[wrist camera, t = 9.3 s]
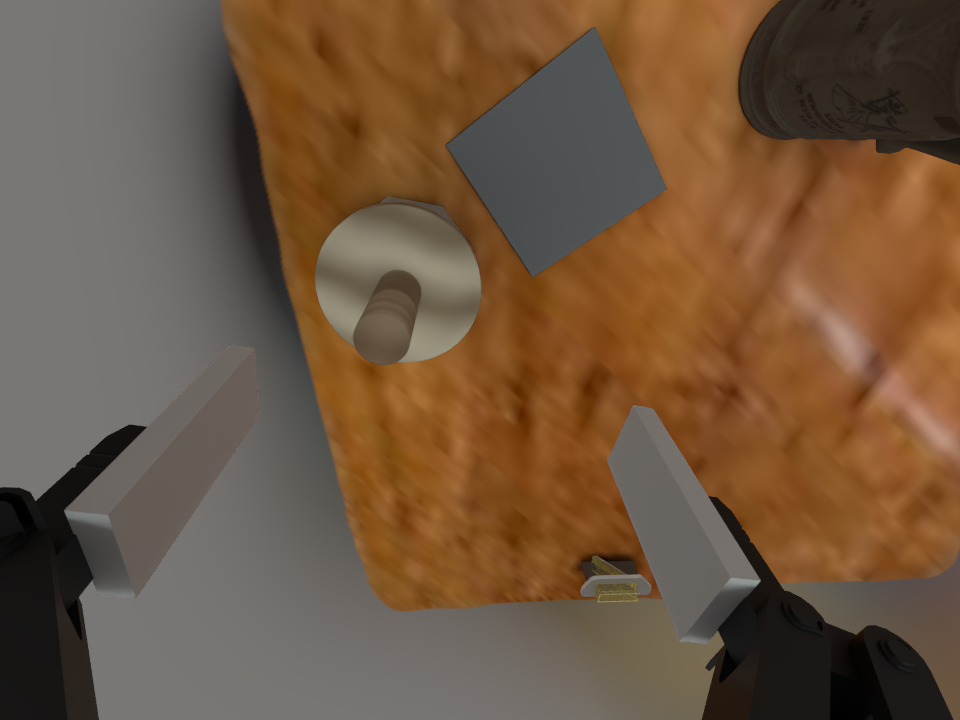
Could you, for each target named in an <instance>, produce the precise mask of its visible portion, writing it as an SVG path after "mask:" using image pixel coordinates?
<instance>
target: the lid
mask: <svg viewBox="0 0 960 720" xmlns="http://www.w3.org/2000/svg"><path fill="white" fill-rule="evenodd" d="M315 284H316V292H317V296H318V300H319V303H320V306H321V308H322V310H323V312H324V314H325V316H326V318H327V320H328V321H329V323H330V324H331V326H332V327H333V328H334V329H335V331H336V332H337V333H338V334H339V335H340V336H341V337H342V338H343V339H344V340H345V341H347V342H348V343H349V344H351V345H352V346H353V347H355V348H356V350H357V351H358V353H359V354H360V355H361V356H362V357H363V358H365V359H366V360H368V361H370V362H372V363H375V364H380V365H388V364H393V363H395V362H402V363H404V362H417V361H423V360H427V359H431V358H433V357H436V356H438V355H441V354H442V353H444V352H446V351H448V350H449V349H451V348H452V347H453V346H455V345H456V344H457V343H458V342H459V341H460V340H461V339H462V338H463V337H464V336H465V335H466V333H467V332H468V331H469V329H470V328H471V326H472V324H473V323H474V321H475V318H476V316H477V313H478V310H479V306H480V300H481V279H480V272H479V267H478V263H477V260H476V257H475V255H474V252H473V250H472V248H471V246H470V245H469V243H468V241H467V240H466V238H465V237H464V236H463V235H462V233H461V232H460V231H459V230H458V229H457V228H456V227H455V226H454V225H453V224H452V223H451V222H449V221H448V220H447V219H445V218H444V217H443V216H441V215H439V214H438V213H436V212H434V211H432V210H430V209H427V208H425V207H422V206H419V205H415V204H411V203H404V202H385V203H379V204H374V205H371V206H368V207H365V208H363V209H361V210H359V211H357V212H355V213H353V214H352V215H350V216H349V217H347V218H346V219H345V220H344V221H343V222H342V223H340V224H339V225H338V226H337V227H336V228H335V229H334V230H333V231H332V233H331V234H330V235H329V236H328V238H327V239H326V241H325V243H324V244H323V246H322V248H321V251H320V253H319V256H318V260H317V264H316V272H315Z"/></svg>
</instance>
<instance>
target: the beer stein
mask: <svg viewBox="0 0 960 720" xmlns="http://www.w3.org/2000/svg"><path fill="white" fill-rule="evenodd" d="M739 87H740V100H741V104H742V107H743V110H744V113H745V115H746V116H747V118H748V120H749V121H750V123H751V125H752V126H753V127H754V128H756V129H757V130H758V131H760V132H761V133H762V134H764V135H766V136H769V137H771V138H776V139H783V140H788V139H796V138H803V139H846V140H867V139H876V151H877V152H878V153H887V154H891V153H894V152H898V151H901V150H902V149H904V148H906V147H907V148H910V149H914V150H917V151H920V152H923V153H926V154H929V155H932V156H935V157H938V158H940V159H943V160H946V161H949V162H952V163H955V164H958V165H960V0H782V1H781V2H780V3H779V4H777V5H776V6H775V7H774V8H773V9H772V10H771V11H770V13H769V14H768V15H767V17H766V18H765V19H764V21H763V22H762V23H761V25H760V27H759V28H758V30H757V32H756V34H755V35H754V37H753V39H752V41H751V43H750V46H749V48H748V51H747V53H746V56H745V58H744V61H743V65H742V70H741V75H740V84H739Z"/></svg>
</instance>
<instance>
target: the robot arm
mask: <svg viewBox="0 0 960 720" xmlns="http://www.w3.org/2000/svg"><path fill="white" fill-rule="evenodd" d="M258 416H259V403H258V389H257V374H256V360H255V348H249V347H243V346H236V345H229V346H228V347H227V348H226V349H225V350H224V351H223V352H222V353H221V354H220V355H219V356H218V357H217V358H216V359H215V360H214V361H213V362H212V363H211V364H210V365H209V366H208V367H207V368H206V369H205V370H204V371H203V372H202V373H201V374H200V375H199V376H198V377H197V378H196V379H195V380H194V381H193V382H192V383H191V384H190V385H189V386H188V387H187V388H186V389H185V390H184V391H183V392H182V393H181V394H180V395H179V396H178V397H177V398H176V399H175V400H174V401H173V402H172V403H171V404H170V405H169V406H168V407H167V408H166V409H165V410H164V411H163V412H162V413H161V414H160V415H159V416H158V417H157V418H156V419H155V420H154V421H153V422H152V423H151V424H150V425H149V426H148V427H144V426H136V425H128V426H126V427H124V428H122V429H120V430H118V431H116V432H114V433H112V434H110V435H108V436H107V437H105V438H104V439H103V440H102V441H101V442H100V443H99V444H98V445H97V446H96V447H94V448H93V449H92V450H91V451H90V454H89V455H86V456H85V457H84V458H82V459H81V460H80V461H79V462H78V463H77V464H76V467H75V468H71V469H70V470H69V471H68V472H67V473H66V474H65V475H64V476H63V477H62V478H61V479H60V480H58V481H57V482H56V483H55V484H54V485H53V486H52V487H51V488H50V489H48V490H47V491H46V492H45V493H44V494H43V495H42V496H41V497H40V498H39V499H38V500H37V501H35V500H34V498H33V496H32V494H31V493H30V492H29V491H26V490H24V489H21V488H7V487H2V488H0V720H99V718H98V711H97V704H96V697H95V691H94V685H93V677H92V670H91V663H90V657H89V650H88V643H87V637H86V630H85V623H84V617H83V609H82V604H81V602H80V599H79V596H80V595H81V593H82V592H83V591H84V590H85V588H86V587H87V586H88V585H89V583H90V582H91V581H92V580H93V582H94V585H95V587H96V590H97V592H98V595H101V596H113V597H127V598H137V596H138V595H139V593H140V592H141V590H142V589H143V587H144V586H145V584H146V583H147V581H148V580H149V579H150V577H151V576H152V574H153V572H154V571H155V570H156V568H157V567H158V565H159V564H160V562H161V561H162V559H163V558H164V556H165V555H166V553H167V552H168V550H169V549H170V547H171V546H172V544H173V543H174V541H175V540H176V538H177V537H178V535H179V534H180V532H181V531H182V529H183V528H184V526H185V525H186V523H187V522H188V521H189V519H190V518H191V516H192V515H193V513H194V511H195V510H196V509H197V507H198V505H199V504H200V503H201V501H202V500H203V498H204V497H205V495H206V493H207V492H208V491H209V489H210V488H211V486H212V485H213V483H214V482H215V480H216V479H217V477H218V476H219V474H220V473H221V471H222V470H223V468H224V467H225V465H226V464H227V463H228V461H229V459H230V458H231V456H232V455H233V453H234V452H235V451H236V449H237V448H238V446H239V445H240V443H241V442H242V440H243V439H244V437H245V436H246V434H247V433H248V431H249V430H250V428H251V427H252V425H253V424H254V422H255V421H256V419H257V418H258ZM607 462H608V464H609V467H610V469H611V472H612V474H613V477H614V479H615V482H616V484H617V487H618V489H619V492H620V494H621V497H622V499H623V502H624V504H625V507H626V509H627V512H628V514H629V516H630V519H631V521H632V524H633V526H634V529H635V531H636V534H637V536H638V539H639V541H640V544H641V546H642V549H643V551H644V554H645V556H646V559H647V561H648V564H649V566H650V569H651V571H652V573H653V576H654V578H655V581H656V583H657V586H658V588H659V591H660V593H661V596H662V598H663V601H664V603H665V606H666V608H667V611H668V613H669V616H670V618H671V621H672V623H673V625H674V628H675V630H676V633H677V635H678V637H679V640H680V641H681V642H695V643H708V642H709V640H710V639H711V638H712V637H713V636H714V635H715V633H716V632H717V631H719V633H720V636H721V637H722V640H723V642H724V644H725V645H724V646H723V647H722V648H721V649H720V650H719V651H718V653H717V654H716V655H715V656H714V657H713V658H712V659H711V660H710V661H709V663H708V664H707V666H706V667H705V668H706V669H707V670H709V671H710V670H711V669H712V668H713V667H714V666H715V665H716V666H715V670H714V674H713V678H712V682H711V686H710V690H709V693H708V698H707V701H706V705H705V709H704V713H703V717H702V720H953V718H952V716H951V713H950V711H949V709H948V707H947V705H946V703H945V701H944V698H943V697H942V694H941V692H940V690H939V688H938V685H937V683H936V681H935V679H934V677H933V675H932V673H931V671H930V669H929V668H928V666H927V664H926V663H925V661H924V660H923V659H922V657H921V656H920V655H919V654H918V653H917V652H916V651H915V650H914V649H913V648H912V647H911V646H910V645H909V644H908V643H907V642H905V641H904V640H903V639H901V638H900V637H899V636H897V635H895V634H894V633H892V632H890V631H889V630H887V629H885V628H881V627H878V626H876V625H873V626H866V627H865V628H864V629H863V630H862V631H860V632H859V633H858V634H857V635H855V634H853V633H850V632H848V631H845V630H842V629H840V628H838V627H835V626H833V625H830V624H828V623H825V621H824V619H823V618H822V616H821V615H820V614H819V613H818V612H817V611H816V610H815V609H814V607H813V606H811V605H810V604H809V603H807V602H806V601H805V600H803V599H802V598H801V597H799V596H797V595H795V594H793V593H791V592H788V591H784V589H783V588H782V587H781V585H780V584H779V582H778V581H777V579H776V578H775V576H774V575H773V573H772V572H771V570H770V568H769V567H768V565H767V564H766V562H765V561H764V559H763V558H762V556H761V555H760V553H759V552H758V550H757V549H756V547H755V546H754V544H753V543H751V542H750V538H749V537H748V535H747V534H746V532H745V531H744V530H742V526H741V525H740V523H739V522H738V520H737V519H736V517H735V516H734V514H733V513H732V511H731V510H730V509H729V508H728V507H726V506H725V505H724V504H723V503H722V502H721V501H720V500H719V499H718V498H717V497H711V496H707V494H706V492H705V491H704V489H703V488H702V486H701V484H700V483H699V481H698V480H697V478H696V476H695V475H694V473H693V472H692V470H691V468H690V467H689V465H688V464H687V462H686V461H685V459H684V457H683V456H682V454H681V453H680V451H679V449H678V448H677V446H676V445H675V443H674V441H673V440H672V438H671V437H670V435H669V433H668V432H667V430H666V429H665V427H664V425H663V424H662V422H661V421H660V419H659V417H658V416H657V414H656V413H655V411H654V409H653V408H647V407H641V406H634V405H633V407H632V409H631V411H630V413H629V415H628V417H627V420H626V422H625V424H624V426H623V428H622V430H621V433H620V435H619V437H618V439H617V441H616V443H615V445H614V448H613V450H612V452H611V454H610V456H609V458H608V461H607Z"/></svg>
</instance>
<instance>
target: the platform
mask: <svg viewBox="0 0 960 720" xmlns="http://www.w3.org/2000/svg"><path fill="white" fill-rule="evenodd" d="M581 564H582V568H583V572H584V575H585V579H586V583H585V584H584V585H583V586H582V587H581V595H582V596H583V597H588V596H596V597H597V600H598V602H618V601H617V600H618V599H619V598H620V597H621V596H623V595H624V596H623V597H622V598H621V599H620V600H619V602H621V600H622V599H623V598H624V597H625V596H626V595H627V596H626V597H625V599H626V598H627V597H628V596H629V595H630V597H629V598H628V599H627V600H626V601H638V600H639V599H638V597H637V595H648V594H650V592H651V589H652V588H651V585H650V584H649V583H648V582H647V581H646V580H645V579H644V577H643V576H642V575H640V574H638V572H637V570H636V567H635V565H634V562H633V561H605V560H603V559H601V558H600V557H598V556H595V555H594V556H593V557H592V561H591V562H581ZM633 595H635V596H633ZM600 596H601V597H600ZM602 596H604V598H603V599H602V600H601V601H599V600H600V599H601V598H602ZM606 596H608V597H607V598H606V600H605V601H603V600H604V599H605V597H606ZM610 596H612V597H611V598H610V599H609V600H608V601H607V599H608V598H609V597H610ZM614 596H615V598H616V597H617V596H619V597H618V598H617V599H616V601H614V600H615V598H614V599H613V600H612V601H610V600H611V599H612V598H613V597H614ZM631 597H633V598H632V600H629V599H630V598H631ZM635 597H636V598H635ZM634 598H635V600H633V599H634ZM625 599H624V600H623V601H625ZM636 599H637V600H636Z"/></svg>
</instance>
